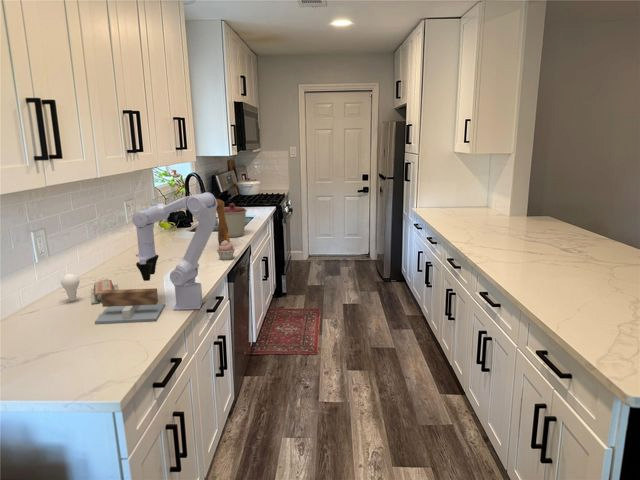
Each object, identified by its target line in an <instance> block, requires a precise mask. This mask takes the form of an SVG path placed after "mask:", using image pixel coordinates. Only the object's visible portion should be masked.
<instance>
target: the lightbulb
mask: <svg viewBox="0 0 640 480" xmlns="http://www.w3.org/2000/svg"><path fill="white" fill-rule="evenodd" d="M60 285H61V287H62V288H63V289H64V290H65V292H66V295H67V297H68V301H69V302H75V301H77V293H78V287H79V285H80V278H79V276H77V275H76V274H74V273H67V274H65V275H63V277H62V278H61V280H60Z"/></svg>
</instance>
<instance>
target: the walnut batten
mask: <svg viewBox="0 0 640 480" xmlns="http://www.w3.org/2000/svg"><path fill="white" fill-rule="evenodd" d="M101 297H102V303H101V304H102V308H105V307H106V308H107V307H112V306H135V305H156V304H159V303H158V302H159V297H158V288H156V287H155V288H133V289H132V288H131V289H130V288H129V289H118V290H104V291H103V292H102V293H101Z"/></svg>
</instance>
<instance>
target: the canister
mask: <svg viewBox="0 0 640 480" xmlns="http://www.w3.org/2000/svg"><path fill="white" fill-rule="evenodd" d="M224 211H225V218H226V222H227V227H228V233H229V238H239V237H242V236H243V235H244V233H245V227H246V217H247V215H246V214H247V211H248V209H246V208H245V207H242V206H241V207H240V206H236V204H235V203H233V202H232V203H229V205H228V206H224Z"/></svg>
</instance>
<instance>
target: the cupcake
mask: <svg viewBox="0 0 640 480" xmlns="http://www.w3.org/2000/svg"><path fill="white" fill-rule="evenodd" d="M216 251H217V254H218V256H219V259H220V261H229V260H233V258H234V254H235V251H236V249H235V248H234V246H233V243H231V242H230V243H228V241H226V240H225V241H223V242H222V243H221V245H220V246H219V245H218V249H217V250H216Z"/></svg>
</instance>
